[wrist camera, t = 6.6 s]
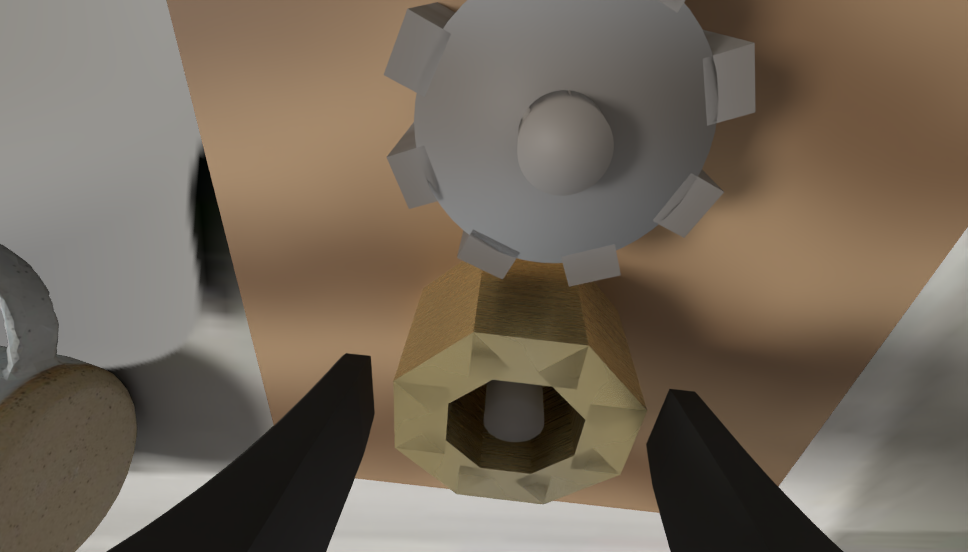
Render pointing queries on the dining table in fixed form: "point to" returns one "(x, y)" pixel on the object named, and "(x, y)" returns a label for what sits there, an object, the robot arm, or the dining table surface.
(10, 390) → the ceramic mug
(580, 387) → the wooden octagonal nut
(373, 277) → the board
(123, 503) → the dining table surface
